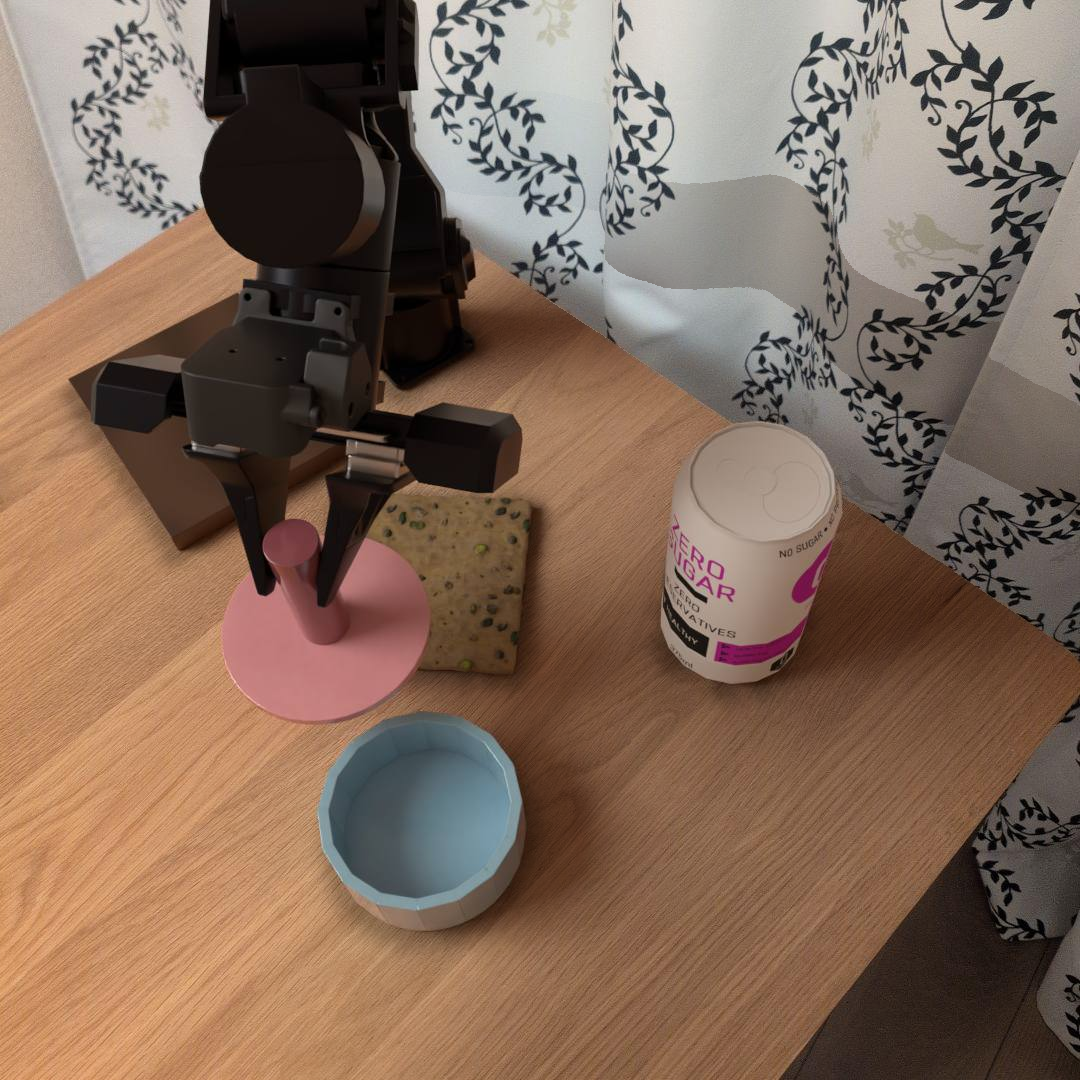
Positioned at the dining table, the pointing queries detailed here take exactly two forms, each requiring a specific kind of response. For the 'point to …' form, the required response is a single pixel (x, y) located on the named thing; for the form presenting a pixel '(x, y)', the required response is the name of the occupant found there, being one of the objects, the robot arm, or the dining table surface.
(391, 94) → the robot arm
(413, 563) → the cookie
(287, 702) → the lid
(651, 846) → the dining table surface
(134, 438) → the board
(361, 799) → the bowl
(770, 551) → the supplement can
